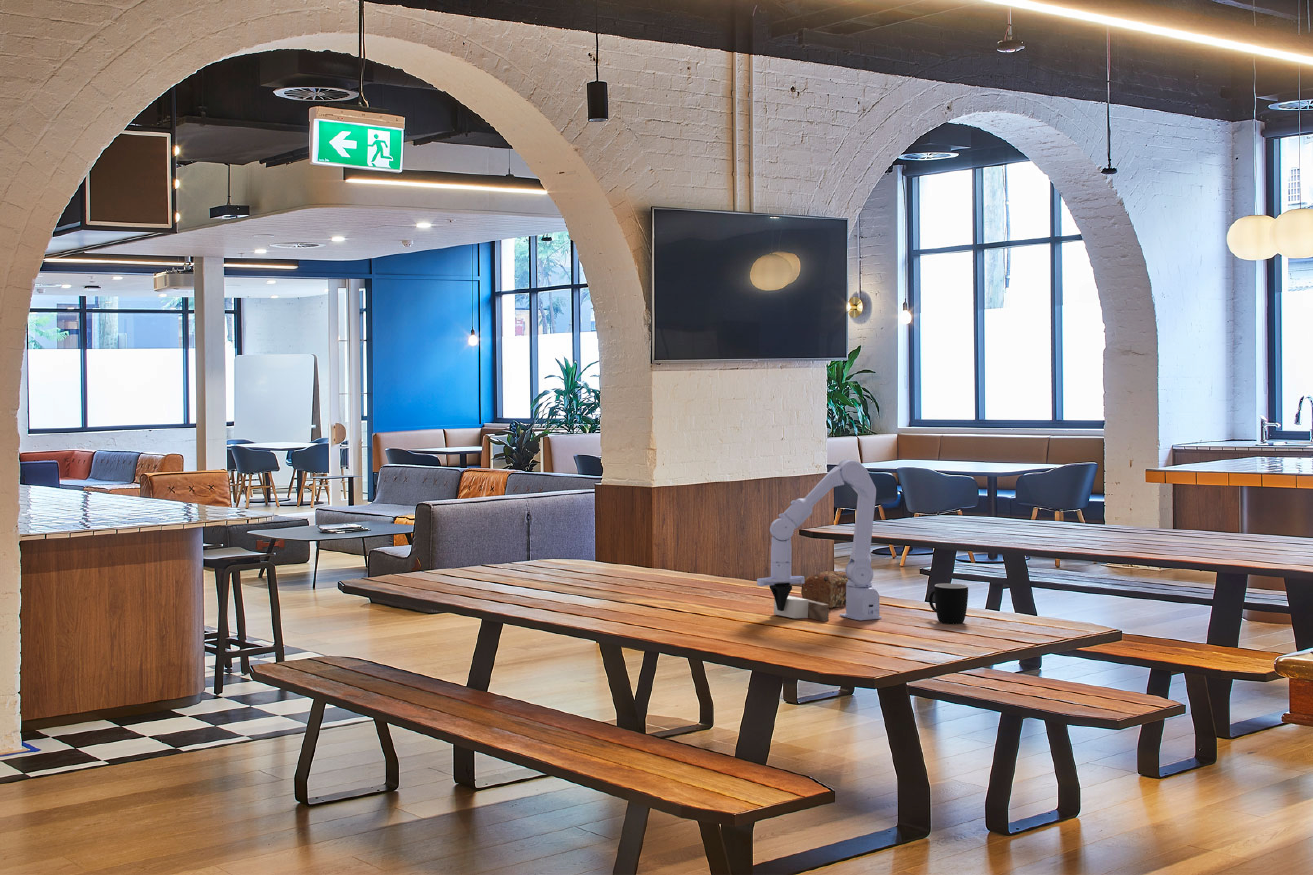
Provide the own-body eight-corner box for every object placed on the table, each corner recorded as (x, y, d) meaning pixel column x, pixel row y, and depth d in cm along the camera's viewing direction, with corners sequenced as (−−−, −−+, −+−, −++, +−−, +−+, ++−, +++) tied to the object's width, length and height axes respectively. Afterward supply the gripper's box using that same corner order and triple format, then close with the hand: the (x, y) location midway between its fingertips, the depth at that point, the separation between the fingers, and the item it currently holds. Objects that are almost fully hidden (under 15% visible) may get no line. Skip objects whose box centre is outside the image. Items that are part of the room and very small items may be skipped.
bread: (831, 610, 371) (831, 576, 371) (799, 606, 378) (799, 573, 377) (861, 602, 386) (861, 569, 386) (829, 599, 393) (830, 566, 392)
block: (807, 617, 357) (808, 599, 357) (793, 618, 355) (794, 600, 355) (787, 613, 365) (788, 595, 365) (773, 613, 362) (774, 596, 362)
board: (828, 620, 352) (828, 604, 352) (822, 621, 351) (822, 604, 351) (784, 609, 372) (784, 593, 372) (778, 609, 371) (778, 594, 371)
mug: (974, 623, 349) (975, 586, 349) (953, 626, 343) (953, 589, 343) (940, 617, 358) (940, 581, 358) (918, 620, 353) (919, 583, 353)
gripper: (794, 559, 364) (794, 606, 365) (751, 561, 357) (750, 610, 358) (808, 561, 358) (808, 610, 358) (764, 564, 351) (764, 613, 352)
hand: (780, 610), depth 358 cm, fingers closed
